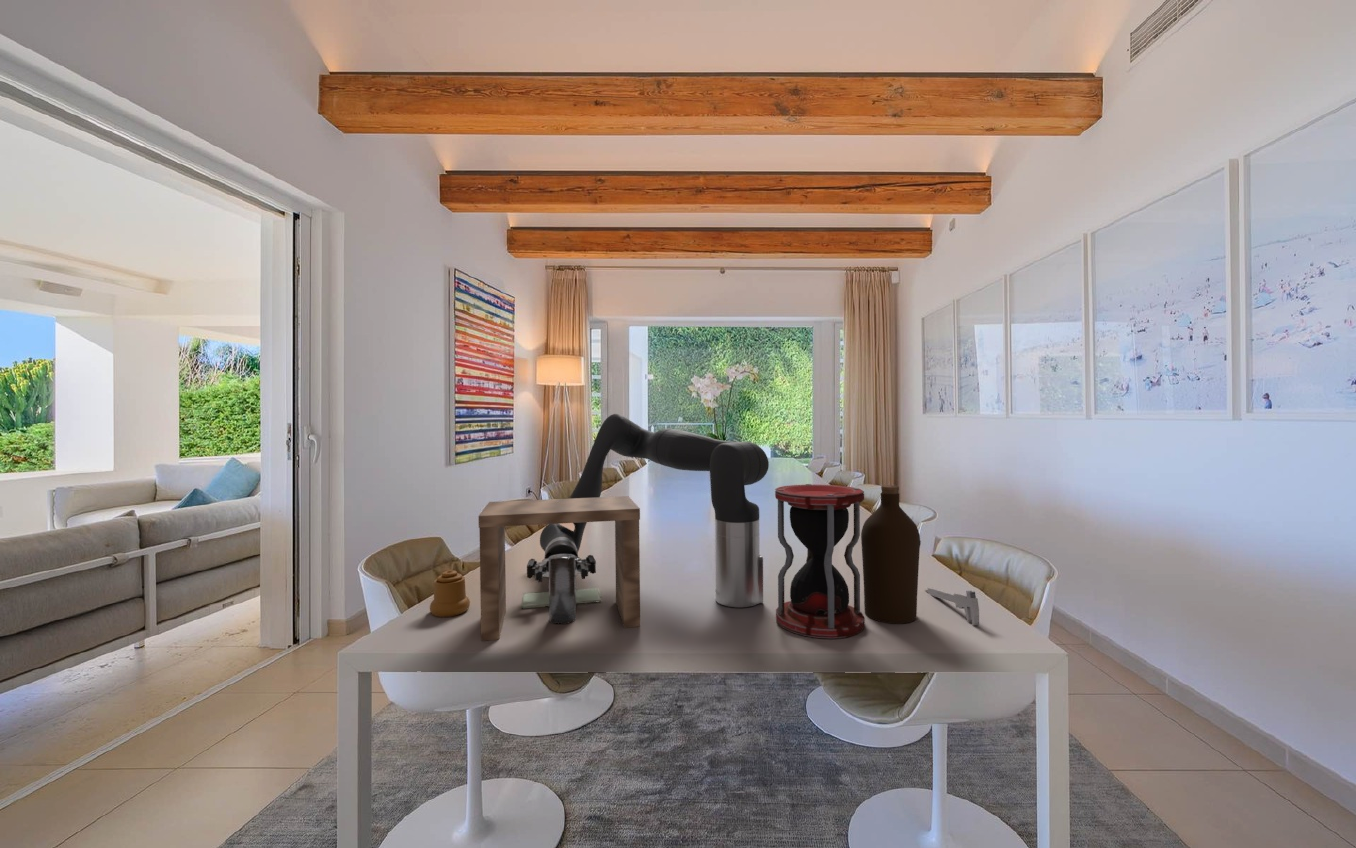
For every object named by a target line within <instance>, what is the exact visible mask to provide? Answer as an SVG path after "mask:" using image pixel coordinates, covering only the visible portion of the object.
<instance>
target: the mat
mask: <svg viewBox="0 0 1356 848" xmlns="http://www.w3.org/2000/svg"><path fill="white" fill-rule="evenodd" d="M599 590H600V589H599V588H598V587H597V588H583V589H576V603H585V604H587V603H586V602H596V601H601V602H602V598H601V597H602V596H601V594H600V591H599ZM545 606H548V607H549V591H542V592H530V593H523V597H522V604H521V609H522V608H523V609H533V608H545Z"/></svg>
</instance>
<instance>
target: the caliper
mask: <svg viewBox="0 0 1356 848" xmlns="http://www.w3.org/2000/svg"><path fill="white" fill-rule="evenodd" d="M924 592H926V593H927V594H928V595H930V596H931V597H935V598H939V599H940V600H941V599H942V600H945V601H948V602H950V603H954V604H955V608H956V609H957V608H958V609H963V610H964V613H965V617H966V622H967V623H968V624H972V626H974V627H975V626H977V627H978V626H979V625H980V606H979V600H978V598H977V596H976V591H972V590H966V594H963V593H959V592H958V593H957V592H955V593H952V592H949V591H945V590H941V589H938V588H934V587H927V589H925V590H924Z"/></svg>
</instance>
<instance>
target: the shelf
mask: <svg viewBox="0 0 1356 848" xmlns="http://www.w3.org/2000/svg"><path fill="white" fill-rule="evenodd" d="M640 510H641V508H640V507H639V506H638V505H637V504H636V503H635V501H634V500H632V498H631V497H630V496H629V495H627V496H623V495H622V496H603V497H602V496H600V497H597V498H572V499H569V498H552V499H550V498H549V499H548V498H547V499H529V500H527V499H526V500H524V499H523V500H506V501H505V500H499V501H488V503H487V504H486V505H485V507H484V508H483V509H482V510H481V512H480V513H479V515H478V528H479V580H480V582H479V587H480V593H479V594H480V641H481V642H482V641H493V640H500V638H501V637H500V636H501V634H500V633H502V629H503V625H504V622H505V618H506V613H507V596H506V595H507V593H506V591H507V590H506V586H507V585H506V581H507V579H506V577H507V576H506V527H515V526H516V527H517V526H519V527H520V526H537V525H548V524H560V525H561V524H573V523H581V522H587V523H598V522H601V523H602V522H614V534H615V535H614V537H615V538H614V543H615V544H614V545H615V546H614V547H615V548H614V549H615V604H616V603H617V604H616V606H618V607H617V610H618V613H619V615H621V617H620V619H622V620H621V623H622V622H623V623H622V625H624V626H623V628H624V627H625V628H632V627H634V628H636V627H641V577H640V576H641V573H640V571H641V568H640V567H641V566H640V565H641V564H640V561H641V558H640V557H641V556H640V553H641V551H640V520H641V511H640ZM504 617H505V618H504Z"/></svg>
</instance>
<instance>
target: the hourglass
mask: <svg viewBox="0 0 1356 848" xmlns="http://www.w3.org/2000/svg"><path fill="white" fill-rule="evenodd" d="M774 490H775V491H774V493H775V494H774V495H775V499H776V500H777V538H778V541H779V543H780V545H781V546H782V548H784V551H785V562H784V564H783V566H782V568H780V569H779V572H778V576H777V580H778V581H777V591H778V592H777V594H778V595H777V597H778V598H777V601H778V605H777V608H776V609H775V620H776V623H777V624H778V625H779V626H780V627H781V628H782V629H784V630H786V631H788V632H790V633H793V634H796V635H800V636H805V637H810V638H815V639H816V638H817V639H831V640H833V639H842V638H848V637H852V636H857V634H859V633H861V632H862V631H863V630H864V627H865V623H866V622H865V620H866V618H865V616H864V614H863V612H862V611H861V574H860V571H859V569H858V567H857V566H856V565H855V564H854V560H853V556H852V554H853V549H854V547H855V546H856V545H857V543H858V542H859V539H860V537H861V529H860V528H861V520H860V519H861V518H860V514H861V512H860V511H861V510H860V508H861V505H860V503H863V502H864V500H865V491H864V490H863V489H860V488H858V487H857V488H856V487H853V486H847V485H846V486H844V485H835V484H811V483H805V484H791V485H782V486H778V487H776V488H775V489H774ZM785 503H787V505H789V506H790V508H789V523H790V526H791V529H792V532H793V533H794V535H795V537H796V538H797V539H798V541H799V542H800V543H801V544H802V545H803V547H805V549H807V552H806V553H807V557H806V561H805V564H804V565H802V566H801V567H800V569H799V570H798V571H797V572H796V574H795V575H794V576H793V578H792V580H791V583H790V590H789V598H790V601H785V576H786V574H787V572H788V570H789V569H790V568H791V566H792V565H793V561H794V557H795V555H794V552H793V548H792V546H791V545H790V544H789V543H788V542H787V540H786V537H785ZM852 505H853V535H852V538H851V540H850V541H849V543H848V544H847V545H846V546H845V551H844V555H843V556H844V559H845V563H846V565H847V567H848V568H850V571H851V573H852V574H853V606H851V605H850V593H849V592H850V591H849V586H848V584H847V582H846V579H845V578H844V576H843V574H841V572H840V570H838V569H837V567H835V565H833V564H832V563H833V554H834V549H835V547H836V545H838V543H840V541H841V540H842V539H843V537H844V536H845V534H846V532H847V530H848V528H849V522H850V513H849V509H848V508H850V507H851V506H852Z"/></svg>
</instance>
